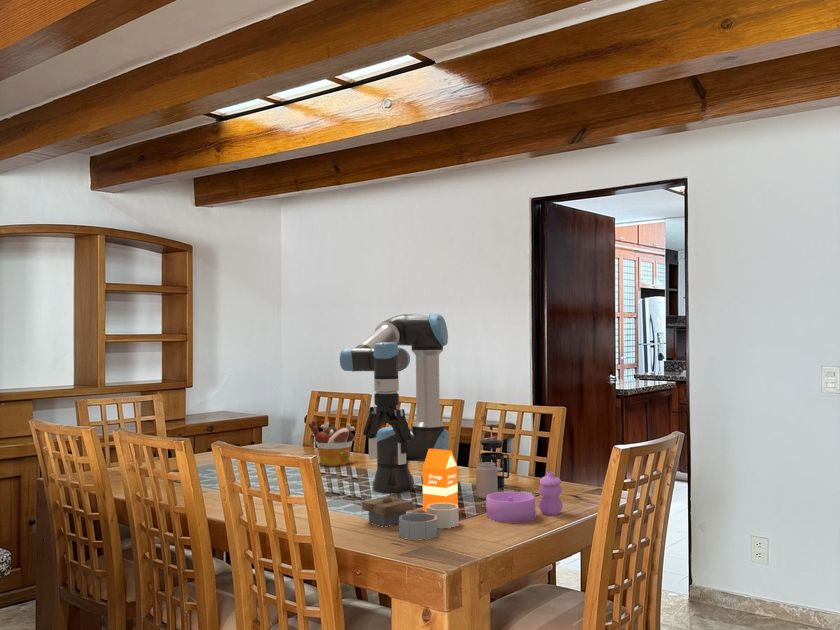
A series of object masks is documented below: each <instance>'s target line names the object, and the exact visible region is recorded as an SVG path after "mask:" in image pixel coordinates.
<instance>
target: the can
mask: <svg viewBox="0 0 840 630" xmlns="http://www.w3.org/2000/svg"><path fill="white" fill-rule="evenodd" d="M495 465H496V464H495V463H492V462H487V461H484V462H482V461H481V463H480V462H478V463H477V466H476V468H475V479H476V480H475V482H476V485H475V486H476V488H475V491H476V493H475V494H476V496H477V498H478V499H480V498H482V499H481V500H486V496H487V495H489V494H491V493H496V492H499V491H498V490H499V488H498V478H497V475H498V472H497V467H498V466H497V467H496V466H495Z"/></svg>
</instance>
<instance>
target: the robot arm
mask: <svg viewBox="0 0 840 630" xmlns="http://www.w3.org/2000/svg"><path fill="white" fill-rule="evenodd" d="M446 323H447V322H446V320H445V318H444V316H442V315H441V314H438V313H437V314H436V313H416V314H415V313H414V314H411V313H410V314H407V313H406V314H399V315H396V316H392V317H391V318H388V319H386V320H384V321H382V322H381V323H379V324H378V325H377V326H376V328H375V329H374V332H373V333H372V334H370V335H369V336H368V337H366V339H364V340H363V341H362V342H361V343H359V344H358V345H357V346H355V347H348V348H347V347H345V348H343V349H342V350H341V351H340V352H339V353H340V354H339V366H340V368H341V369H342V370H343V371H344V372H352V373H353V372H373V373H374V374H373V375H374V376H373V379H374V380H373V381H374V382H373V383H374V386H373V387H374V392H375V393H374V395H373V397H374V398H373V399H374V400H373V401H374V405H375V406H370V407H369V412H368V416H367V420H366V423H365V426H364V429H363V432H362V434H363V435H362V436H366V438H367V448H368V460H376V464H377V465H376V472H375V476H374V480H373V481H372V490H373V491H375V492H379V493H385V494H386V493H388V494H391V493H395V494H396V493H405V492H409V491H412V490H414V480H413V479H412V474H411V472H410V468H409V462H425V459H426V456H427V453H428V450H429V449H440V450H448V448H449V443H450V434H449V433H450V432H449V430H447V429H445V425H444V423H443V422H442V421H441V419H440V415H441V413H440V412H441V411H440V408H441V407H440V405H441V404H440V354H441V353H442V352H444V347H445V346H447V344H448V342H449V341H448V340H449V338H448V337H449V334H448V327H447V324H446ZM399 346H403V347H404V346H406V347H408V346H409V347H411V352H412V353H413V354H414V355H415V400H416V401H415V403H416V404H415V405H416V406H415V407H416V408H415V409H416V410H415V412H416V413H415V415H416V420H415V422H414V423H412V429H410V428H409V425H408V424H409V423H408V420H407V418H406V411H405V409H403V408H401V409H400V408H399V409H398V408H397V406H398V405H399V404H400V401H399V400H400V397H399V393H398V392H399V390H400V389H399V388H400V387H399V385H400V384H399V372H401V371H404V370H405V369H407V367H409V365H410V362H411V356H410V353H409V352H408V350H407V349H405V348H403V347H399ZM384 423H385V424H388V425H389V426H385V427H381V426H382V425H383V424H384Z"/></svg>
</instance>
